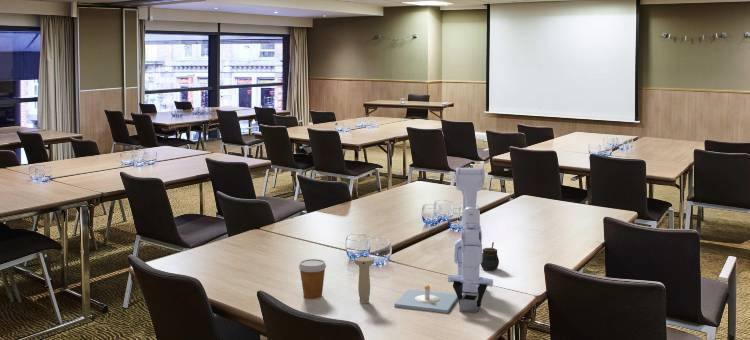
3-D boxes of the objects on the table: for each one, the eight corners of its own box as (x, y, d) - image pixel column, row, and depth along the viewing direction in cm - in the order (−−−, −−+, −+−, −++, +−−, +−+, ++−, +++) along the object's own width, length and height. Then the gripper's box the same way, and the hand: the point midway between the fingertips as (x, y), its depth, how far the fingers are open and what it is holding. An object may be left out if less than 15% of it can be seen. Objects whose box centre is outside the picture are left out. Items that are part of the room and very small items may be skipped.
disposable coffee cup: (330, 298, 239) (329, 264, 238) (303, 302, 236) (302, 267, 234) (321, 290, 248) (321, 257, 246) (295, 293, 245) (295, 260, 243)
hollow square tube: (463, 304, 233) (463, 293, 232) (480, 306, 231) (480, 295, 230) (459, 311, 227) (459, 299, 226) (476, 313, 225) (476, 301, 224)
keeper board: (408, 291, 246) (408, 275, 245) (458, 297, 240) (458, 280, 239) (394, 306, 231) (394, 289, 230) (447, 313, 225) (447, 295, 224)
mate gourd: (478, 270, 271) (479, 245, 269) (481, 265, 278) (482, 241, 277) (497, 272, 269) (498, 247, 267) (499, 267, 276) (500, 242, 274)
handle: (355, 299, 238) (355, 256, 236) (374, 299, 238) (374, 257, 236) (354, 304, 234) (353, 260, 231) (373, 304, 233) (373, 261, 231)
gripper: (445, 266, 225) (445, 306, 227) (490, 270, 221) (489, 311, 223) (451, 260, 232) (450, 299, 234) (494, 264, 227) (493, 304, 229)
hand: (469, 305), depth 229 cm, fingers closed on hollow square tube, 6 cm apart
